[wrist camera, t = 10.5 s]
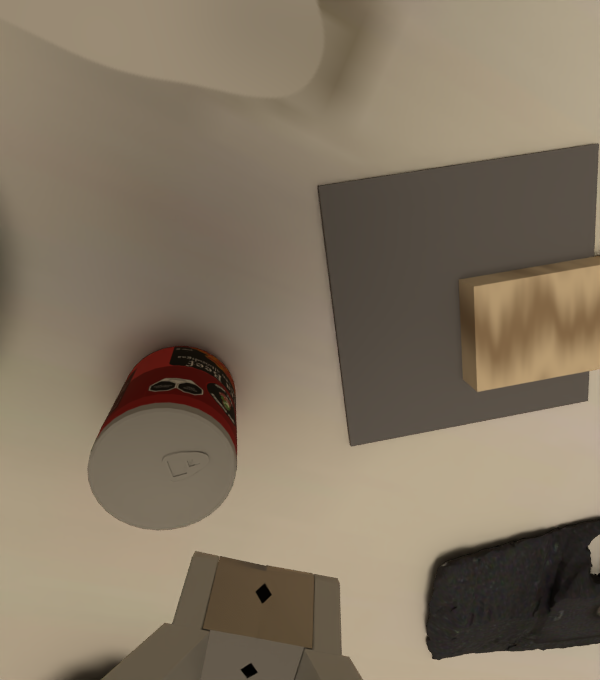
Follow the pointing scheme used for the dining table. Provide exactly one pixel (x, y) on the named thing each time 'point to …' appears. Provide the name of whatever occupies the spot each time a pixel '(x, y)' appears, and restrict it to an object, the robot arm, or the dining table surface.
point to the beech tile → (530, 323)
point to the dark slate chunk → (518, 596)
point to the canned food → (168, 442)
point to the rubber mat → (444, 281)
